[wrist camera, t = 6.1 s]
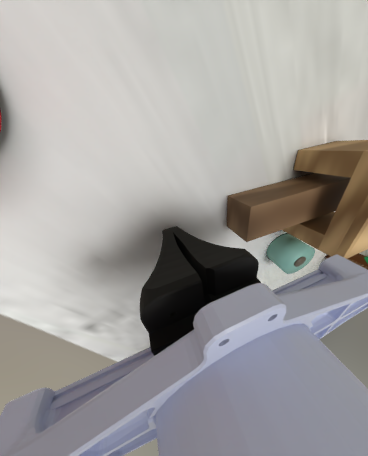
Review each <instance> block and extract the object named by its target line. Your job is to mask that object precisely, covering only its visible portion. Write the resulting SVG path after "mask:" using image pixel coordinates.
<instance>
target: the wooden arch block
mask: <svg viewBox="0 0 368 456" xmlns="http://www.w3.org/2000/svg"><path fill="white" fill-rule="evenodd" d="M293 170H298V171H305V172H312V173H320V174H327V175H334V176H342V177H349V178H351V179H350V181H349V184H348V186H347V188H346V190H345V192H344V194H343V197H342V199H341V201H340V203H339V205H338V207H337V210H336V212H331V213H328V214H325V215H322V216H320V217H317V218H314V219H311V220H308V221H305V222H302V223H300V224H297V225H294V226H291V227H288V228H285V229H282V230H283V231H285V232H287V233H289V234H290V235H292V236H294V237H296V238H298V239H300V240H301V241H303V242H305V243H307V244H309V245H311V246H313V247H314V248H316V249H318V250H320V251H322V252H324V253H326V254H327V255H329V256H334V255H337V254H338V255H340V256H342V257H344V258H346V259H347V258H350V257H352V256H354V255H356V254H358V253H360V252H362V251H364V250H366V249H368V140H355V141H334V142H330V143H326V144H322V145H318V146H313V147H309V148H305V149H301V150H298V153H297V157H296V161H295V165H294V169H293Z"/></svg>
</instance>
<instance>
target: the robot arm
mask: <svg viewBox="0 0 368 456" xmlns="http://www.w3.org/2000/svg"><path fill="white" fill-rule="evenodd" d="M162 233H163V243H162V248H161V253H160V256H159V259H158V262H157V264H156V266H155V268H154V270H153V272H152V274H151V276H150V278H149V279H148V281H147V282H146V283H145V285H144V286H143V288H142V292H141V298H140V317H141V321H142V323H143V324H144V326H145V328H146V329H147V331H148V332H149V337H150V348H147V349H145V350H143V351H141V352H139V353H137V354H135V355H132V356H130V357H128V358H126V359H124V360H122V361H119V362H117V363H115V364H113V365H111V366H109V367H107V368H105V369H102V370H100V371H98V372H96V373H94V374H91V375H89V376H87V377H85V378H83V379H81V380H78V381H76V382H74V383H72V384H70V385H68V386H66V387H63V388H61V389H59V390H57V391H55V392H54V391H53V390H52V389H50V388H40V389H37V390H34V391H32V392H30V393H28V394H25V395H23V396H21V397H19V398H16V399H14V400H12V401H10V402H8V403H7V404H6V406H5V408H4V410H3V412H2V414H1V416H0V456H124V455H126V454H128V453H130V452H131V451H134V450H135V449H137V448H139V447H141V446H143V445H145V444H147V443H149V442H151V441H152V440H154V439H156V438H157V440H158V451H159V456H368V389H367V388H366V387H365V386H364V385H363V384H362V383H361V382H360V381H359V380H358V378H357V377H356V376H355V375H354V374H352V373H351V371H350V370H349V369H347V367H346V366H345V365H344V364H343V363H342V362H341V361H340V360H339V359H338V358H337V357H336V356H335V355H334V354H333V353H332V352H331V351H330V350H329V349H328V348H327V347H326V346H325V345H324V344H323V343H322V342H321V341H320V340H319V339H321V338H322V337H323V336H325V335H326V334H328V333H329V332H331V331H332V330H334V329H335V328H337V327H338V326H340V325H341V324H343V323H344V322H345V321H347V320H349V319H350V318H352V317H354V316H355V315H357V314H358V313H360V312H362V311H363V310H365V309H366V308H368V270H367V269H365V268H363V267H361V266H359V265H357V264H355V263H353V262H352V261H350V260H348V259H346V258H344V257H342V256H340V255H338V254H337V255H334V256H331V257H329V258H327V259H325V260H323V261H322V262H321V264H320V265H319V268H318V270H316V271H314V272H311V273H309V274H307V275H305V276H303V277H301V278H298V279H296V280H294V281H292V282H290V283H288V284H285V285H283V286H281V287H279V288H277V289H275V290H273V291H272V290H271V289H270V288H269V287H268V286H267V285H265V284H262V283H261V282H260V281H259V280H258V279H257V278H256V277H257V272H258V261H257V259H256V258H255V257H254V256H252V255H251V254H250V253H249V252H248V251H247V250H245V249H239V248H230V247H224V246H219V245H215V244H211V243H208V242H205V241H203V240H200V239H198V238H196V237H194V236H192V235H190V234H188V233H187V232H185V231H183V230H182V229H180V228H179V227H177V226H175V227H172V228H169V229H165V230H163V231H162Z"/></svg>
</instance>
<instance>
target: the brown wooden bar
mask: <svg viewBox="0 0 368 456" xmlns="http://www.w3.org/2000/svg"><path fill="white" fill-rule="evenodd" d="M350 179H351V178H349V177H342V176H334V175H327V174H320V173H313V174H309V175H305V176H301V177H298V178H294V179H290V180H286V181H282V182H278V183H275V184H271V185H267V186H263V187H259V188H255V189H252V190H248V191H244V192H240V193H236V194H232V195H228V198H227V227H228V228H230V229H231V230H232V231H233V232H235V233H236V234H237V235H238V236H240V237H241V238H242V239H243V240H245V241H246V242H248V241H251V240H254V239H256V238H259V237H262V236H265V235H268V234H271V233H274V232H277V231H279V230H282V229H285V228H288V227H291V226H294V225H297V224H300V223H302V222H305V221H308V220H311V219H314V218H317V217H320V216H322V215H325V214H328V213H331V212H334V211H336V210H337V207H338V205H339V203H340V201H341V199H342V197H343V194H344V192H345V190H346V188H347V186H348V184H349V181H350Z"/></svg>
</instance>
